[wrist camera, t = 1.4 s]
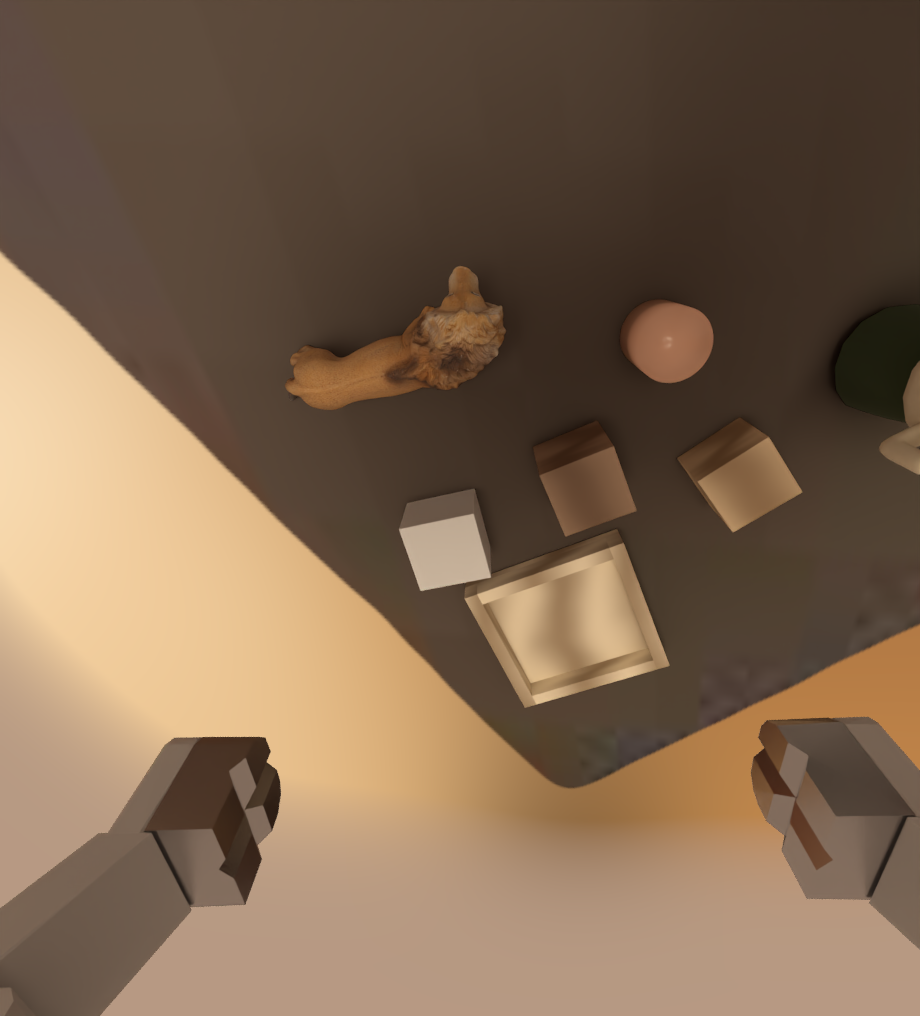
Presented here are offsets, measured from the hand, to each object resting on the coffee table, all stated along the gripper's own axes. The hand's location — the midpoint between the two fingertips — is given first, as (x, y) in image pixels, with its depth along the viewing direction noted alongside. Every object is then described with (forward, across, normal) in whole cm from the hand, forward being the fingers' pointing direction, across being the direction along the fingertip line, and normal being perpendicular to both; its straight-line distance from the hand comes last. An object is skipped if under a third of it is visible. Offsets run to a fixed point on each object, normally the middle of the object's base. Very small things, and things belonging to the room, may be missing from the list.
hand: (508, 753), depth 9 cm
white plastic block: (+28, +3, +10) cm, 30 cm away
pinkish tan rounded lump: (+27, -10, -3) cm, 29 cm away
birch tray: (+28, -5, +18) cm, 34 cm away
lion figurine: (+28, +5, -3) cm, 28 cm away
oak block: (+27, -16, +6) cm, 32 cm away
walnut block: (+28, -6, +6) cm, 29 cm away
